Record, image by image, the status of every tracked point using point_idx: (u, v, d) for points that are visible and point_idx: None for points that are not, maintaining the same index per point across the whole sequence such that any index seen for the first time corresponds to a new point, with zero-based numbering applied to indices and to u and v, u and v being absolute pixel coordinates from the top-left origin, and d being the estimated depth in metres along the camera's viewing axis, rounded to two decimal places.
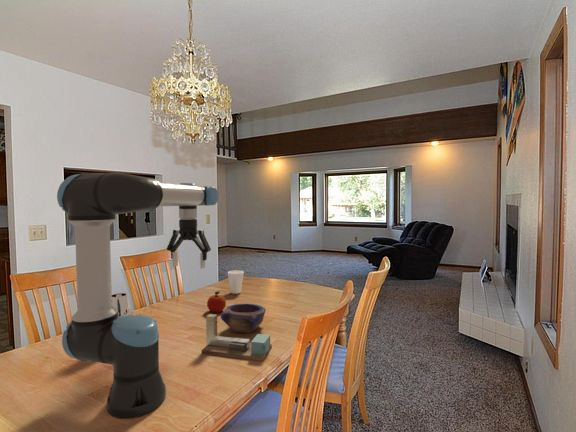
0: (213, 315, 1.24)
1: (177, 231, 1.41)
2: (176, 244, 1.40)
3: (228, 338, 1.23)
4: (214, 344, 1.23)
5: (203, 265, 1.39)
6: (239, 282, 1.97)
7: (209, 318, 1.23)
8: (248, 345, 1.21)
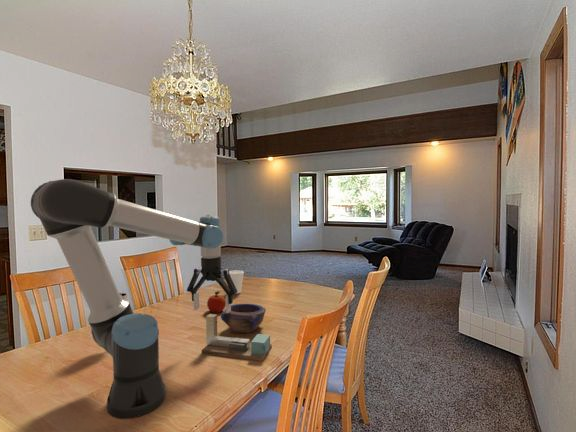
0: (213, 315, 1.24)
1: (198, 270, 1.24)
2: (198, 285, 1.24)
3: (228, 338, 1.23)
4: (214, 344, 1.23)
5: (229, 309, 1.22)
6: (239, 282, 1.97)
7: (209, 318, 1.23)
8: (248, 345, 1.21)
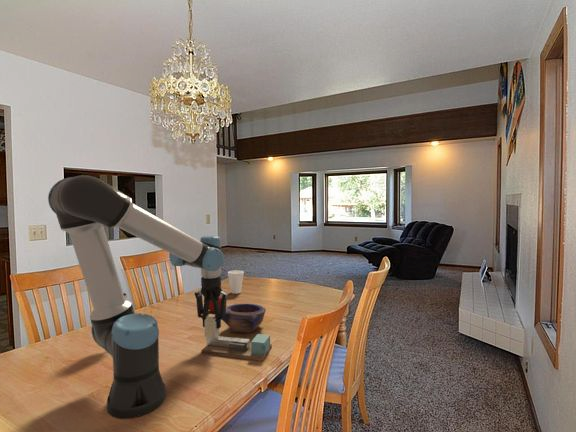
0: (213, 315, 1.24)
1: (199, 292, 1.25)
2: (205, 308, 1.23)
3: (228, 338, 1.23)
4: (214, 344, 1.23)
5: (217, 333, 1.24)
6: (239, 282, 1.97)
7: (209, 318, 1.23)
8: (248, 345, 1.21)
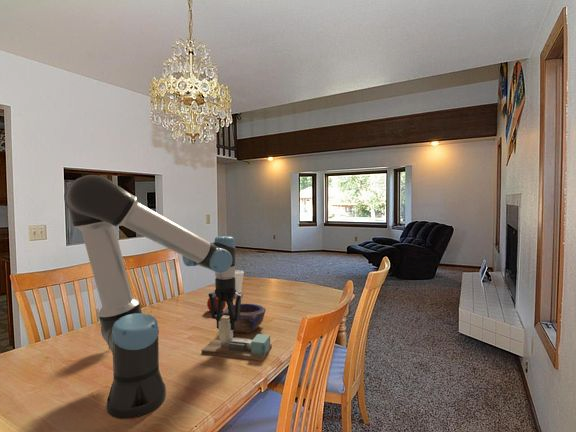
0: (227, 316, 1.23)
1: (213, 293, 1.23)
2: (219, 310, 1.22)
3: (242, 340, 1.22)
4: (228, 346, 1.21)
5: (231, 335, 1.22)
6: (239, 282, 1.97)
7: (223, 320, 1.21)
8: None
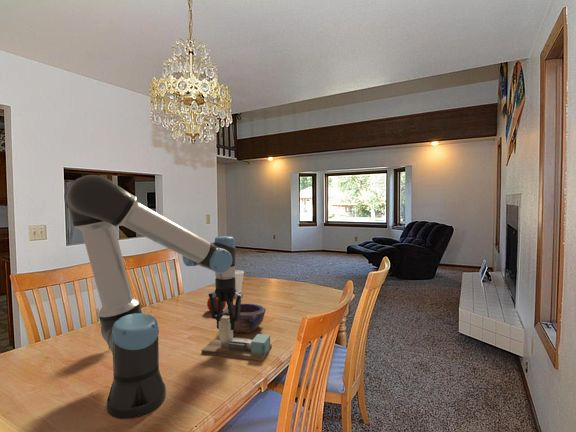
0: (227, 316, 1.23)
1: (213, 293, 1.23)
2: (219, 310, 1.22)
3: (242, 340, 1.22)
4: (228, 346, 1.21)
5: (231, 335, 1.22)
6: (239, 282, 1.97)
7: (223, 320, 1.21)
8: None
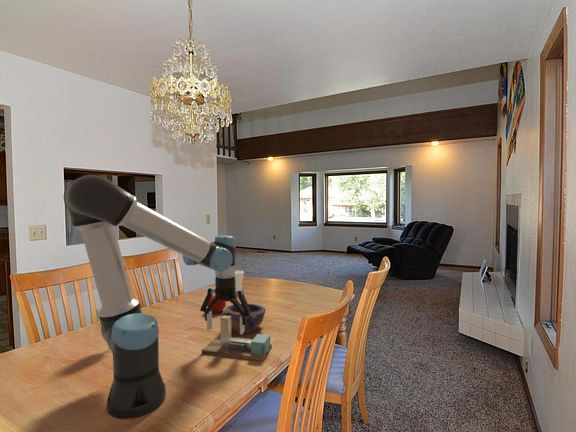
0: (227, 316, 1.23)
1: (212, 290, 1.23)
2: (211, 305, 1.23)
3: (242, 340, 1.22)
4: (228, 346, 1.21)
5: (243, 330, 1.21)
6: (239, 282, 1.97)
7: (223, 320, 1.21)
8: None
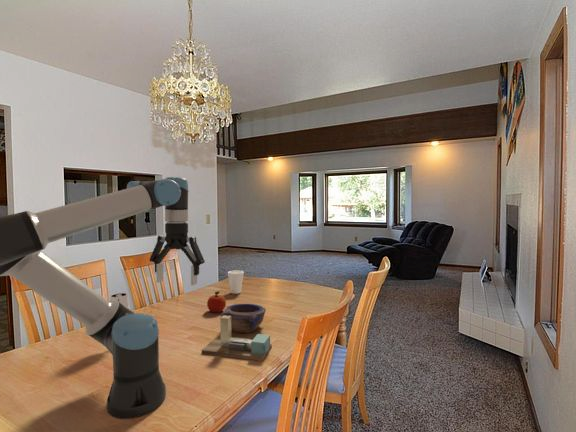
0: (227, 316, 1.23)
1: (163, 238, 1.12)
2: (161, 254, 1.12)
3: (242, 340, 1.22)
4: (228, 346, 1.21)
5: (194, 281, 1.10)
6: (239, 282, 1.97)
7: (223, 320, 1.21)
8: None
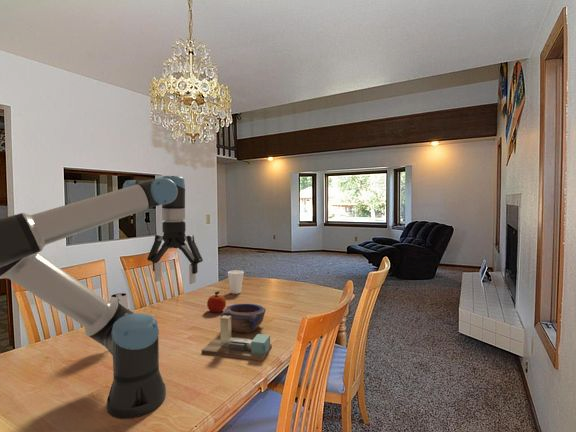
0: (227, 316, 1.23)
1: (160, 237, 1.12)
2: (159, 253, 1.11)
3: (242, 340, 1.22)
4: (228, 346, 1.21)
5: (193, 280, 1.10)
6: (239, 282, 1.97)
7: (223, 320, 1.21)
8: None
